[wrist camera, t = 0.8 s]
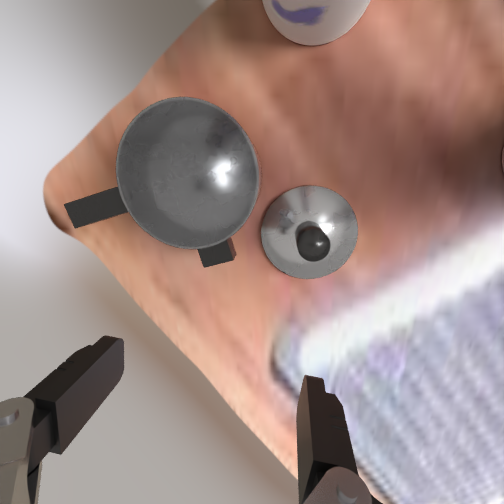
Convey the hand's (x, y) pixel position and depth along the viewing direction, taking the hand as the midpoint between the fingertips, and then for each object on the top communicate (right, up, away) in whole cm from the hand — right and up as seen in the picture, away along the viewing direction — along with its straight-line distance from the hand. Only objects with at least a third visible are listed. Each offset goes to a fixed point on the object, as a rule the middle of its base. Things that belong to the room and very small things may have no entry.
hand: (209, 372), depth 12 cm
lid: (+8, +7, +19) cm, 22 cm away
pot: (-6, +12, +19) cm, 23 cm away
